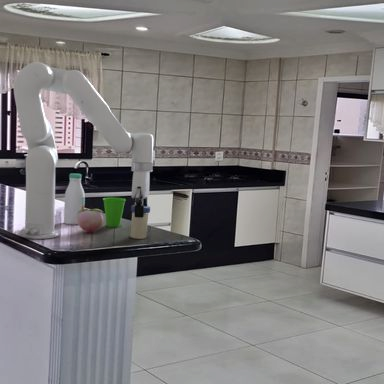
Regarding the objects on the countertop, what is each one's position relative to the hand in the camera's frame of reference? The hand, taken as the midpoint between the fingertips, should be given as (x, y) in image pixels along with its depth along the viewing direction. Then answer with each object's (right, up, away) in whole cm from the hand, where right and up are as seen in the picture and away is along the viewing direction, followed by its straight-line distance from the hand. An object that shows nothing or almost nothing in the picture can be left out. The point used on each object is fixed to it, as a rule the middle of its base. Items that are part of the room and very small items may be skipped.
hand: (140, 215), depth 208 cm
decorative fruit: (-20, -7, +4) cm, 21 cm away
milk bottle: (-31, -4, +21) cm, 38 cm away
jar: (-1, -8, +1) cm, 8 cm away
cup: (-15, -5, +20) cm, 26 cm away
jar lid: (0, +3, 0) cm, 3 cm away
